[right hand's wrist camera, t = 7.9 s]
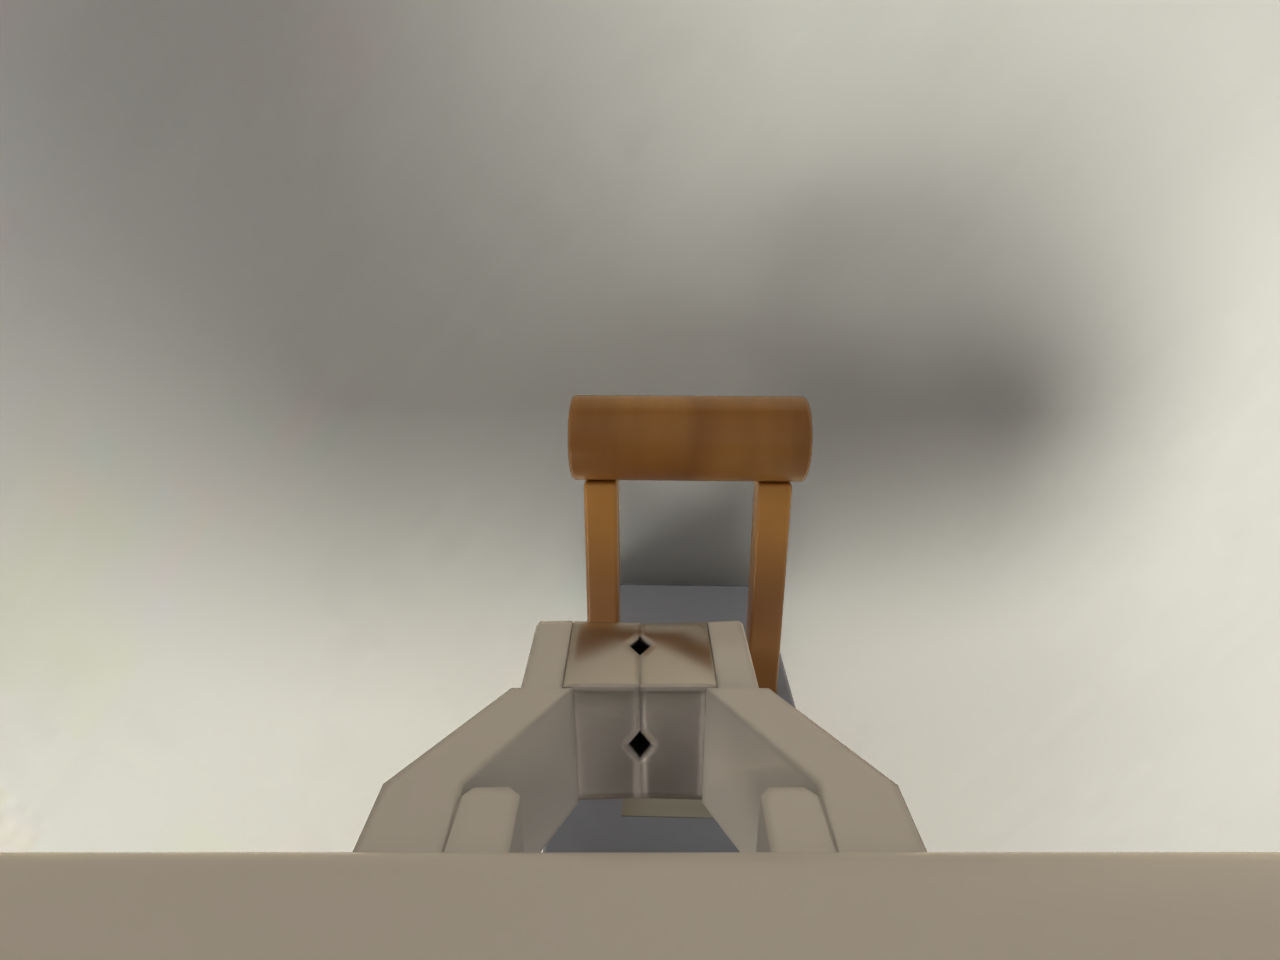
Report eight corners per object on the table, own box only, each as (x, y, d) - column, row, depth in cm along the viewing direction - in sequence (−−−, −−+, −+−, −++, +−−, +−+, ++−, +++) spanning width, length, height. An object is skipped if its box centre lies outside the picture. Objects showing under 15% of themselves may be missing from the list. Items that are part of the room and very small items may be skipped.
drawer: (588, 354, 17) (509, 486, 8) (776, 355, 16) (901, 489, 8) (606, 1084, 25) (576, 1528, 16) (730, 1089, 25) (766, 1537, 16)
